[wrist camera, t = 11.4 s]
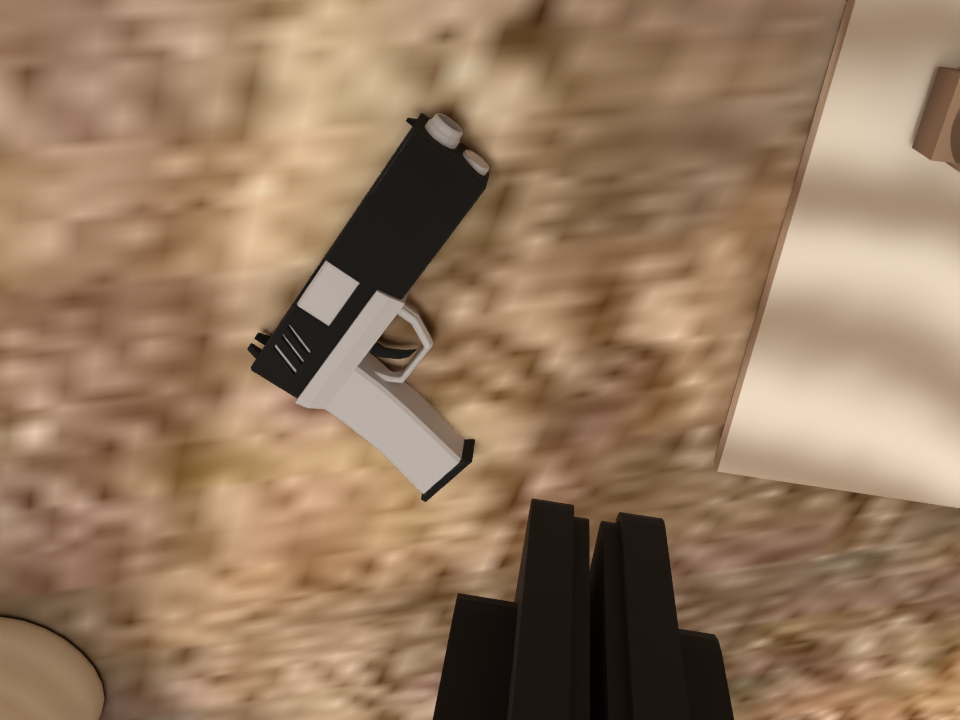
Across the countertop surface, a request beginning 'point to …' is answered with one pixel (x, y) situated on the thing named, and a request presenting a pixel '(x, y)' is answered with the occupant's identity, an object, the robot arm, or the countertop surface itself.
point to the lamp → (45, 676)
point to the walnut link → (941, 120)
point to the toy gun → (381, 307)
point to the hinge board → (863, 282)
